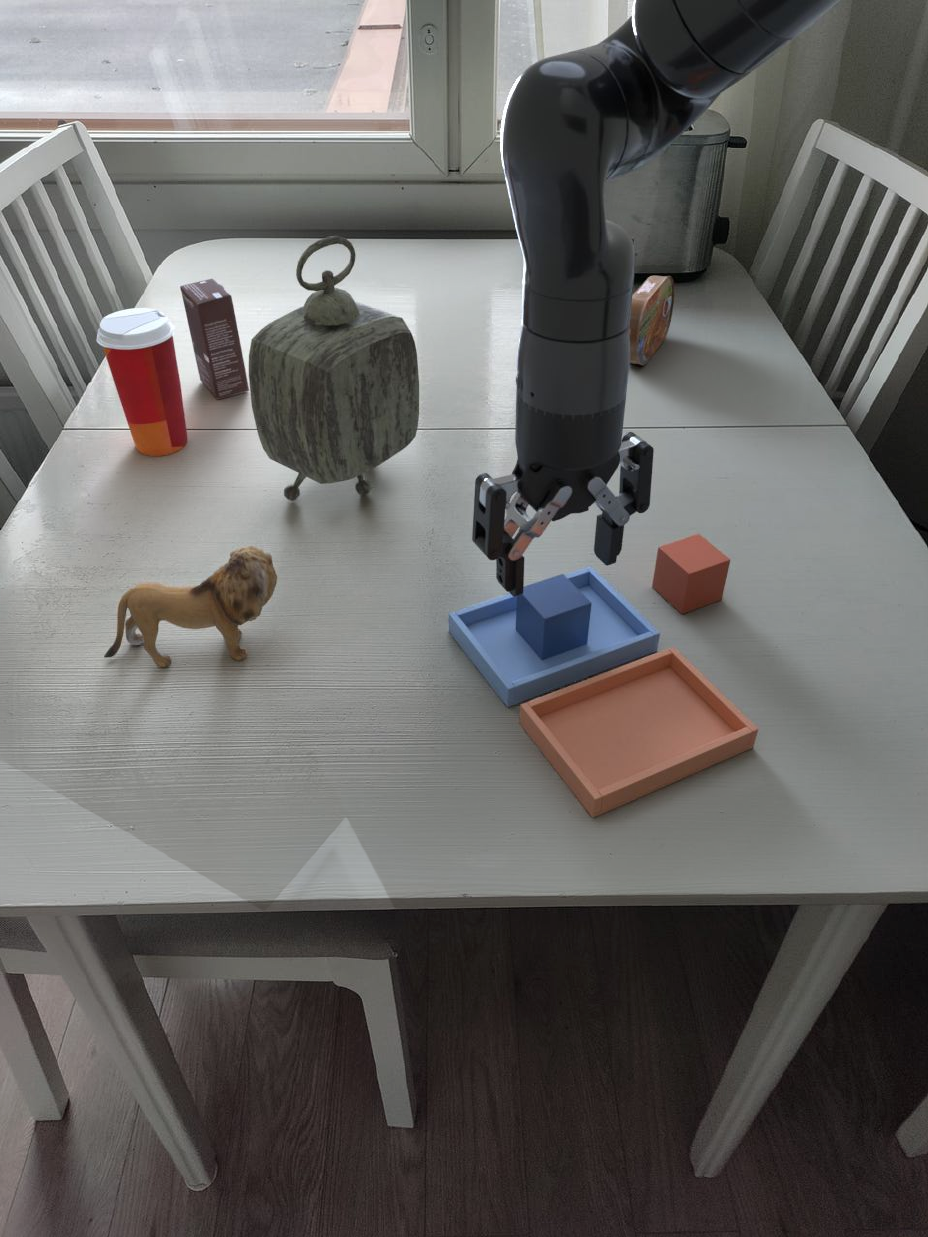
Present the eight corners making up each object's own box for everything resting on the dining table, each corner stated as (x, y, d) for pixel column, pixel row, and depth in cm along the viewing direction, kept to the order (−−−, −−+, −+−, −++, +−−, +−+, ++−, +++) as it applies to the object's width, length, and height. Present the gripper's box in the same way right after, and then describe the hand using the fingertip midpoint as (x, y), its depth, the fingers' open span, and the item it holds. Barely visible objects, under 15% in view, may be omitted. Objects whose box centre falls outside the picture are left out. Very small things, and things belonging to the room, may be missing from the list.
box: (197, 382, 117) (178, 284, 109) (232, 373, 119) (216, 276, 111) (214, 401, 113) (196, 302, 105) (250, 392, 115) (234, 293, 107)
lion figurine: (283, 614, 83) (269, 528, 77) (289, 654, 79) (275, 567, 73) (106, 642, 80) (78, 555, 74) (104, 685, 76) (75, 597, 70)
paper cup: (179, 419, 110) (153, 299, 101) (209, 445, 105) (185, 322, 96) (113, 440, 106) (80, 318, 97) (142, 469, 101) (110, 343, 92)
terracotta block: (691, 572, 87) (698, 533, 84) (722, 599, 84) (730, 559, 81) (651, 586, 86) (657, 546, 83) (681, 614, 83) (689, 574, 80)
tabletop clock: (367, 445, 105) (349, 208, 89) (429, 473, 100) (422, 229, 84) (266, 502, 96) (227, 250, 80) (329, 535, 92) (301, 276, 76)
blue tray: (589, 583, 86) (591, 566, 85) (657, 651, 79) (660, 633, 78) (448, 631, 81) (448, 613, 80) (507, 707, 74) (508, 689, 73)
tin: (636, 376, 118) (644, 309, 112) (612, 371, 119) (619, 305, 113) (672, 330, 128) (681, 267, 123) (649, 326, 129) (657, 263, 124)
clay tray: (670, 664, 78) (673, 646, 77) (753, 747, 71) (759, 728, 70) (519, 722, 73) (519, 704, 72) (592, 818, 66) (595, 799, 65)
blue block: (559, 613, 82) (562, 573, 79) (587, 644, 79) (592, 602, 76) (515, 629, 81) (516, 588, 78) (541, 660, 78) (544, 619, 75)
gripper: (506, 433, 60) (503, 629, 71) (690, 383, 65) (661, 574, 75) (453, 385, 65) (457, 575, 76) (626, 343, 70) (608, 526, 81)
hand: (559, 574), depth 76 cm, fingers open, 8 cm apart
